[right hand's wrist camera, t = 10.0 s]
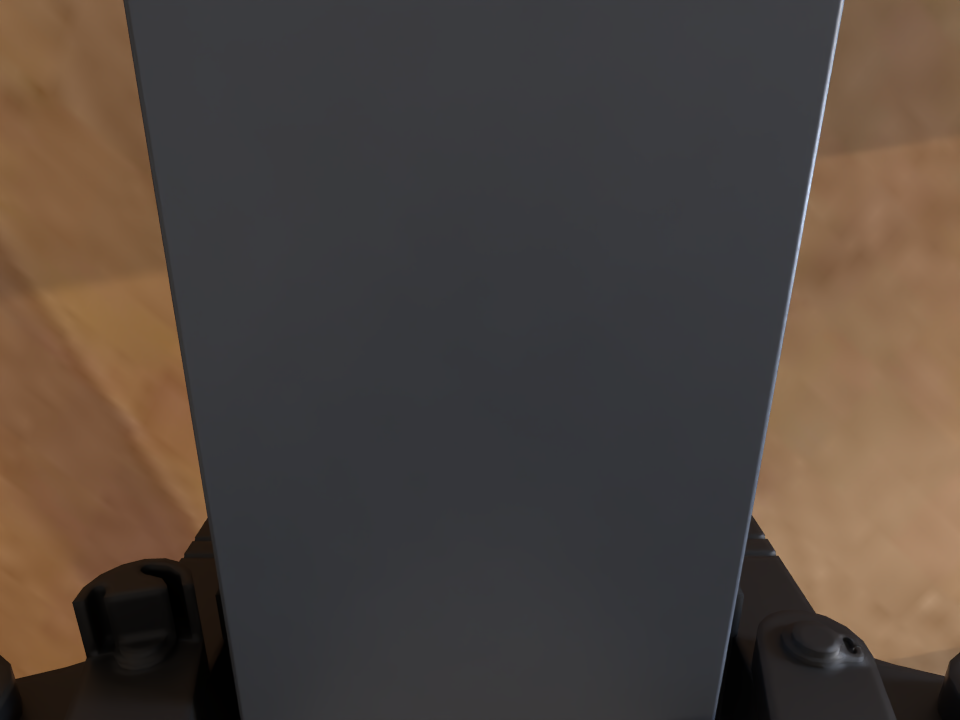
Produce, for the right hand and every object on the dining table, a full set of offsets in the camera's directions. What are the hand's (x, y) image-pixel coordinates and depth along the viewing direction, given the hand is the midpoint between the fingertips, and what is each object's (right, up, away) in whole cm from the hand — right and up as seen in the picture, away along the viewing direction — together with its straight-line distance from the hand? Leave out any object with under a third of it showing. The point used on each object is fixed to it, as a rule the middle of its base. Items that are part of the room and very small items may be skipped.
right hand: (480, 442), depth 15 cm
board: (0, +17, -6) cm, 18 cm away
